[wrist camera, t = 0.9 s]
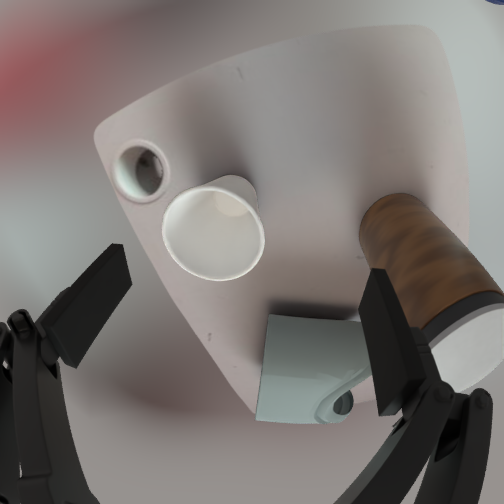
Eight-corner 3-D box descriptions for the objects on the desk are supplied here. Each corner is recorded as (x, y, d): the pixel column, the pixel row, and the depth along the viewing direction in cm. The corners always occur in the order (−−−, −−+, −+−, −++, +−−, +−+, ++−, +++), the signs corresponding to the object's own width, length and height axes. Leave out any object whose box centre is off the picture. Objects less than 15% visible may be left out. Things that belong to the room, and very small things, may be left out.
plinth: (382, 179, 31) (465, 270, 14) (442, 213, 31) (524, 306, 14) (345, 250, 36) (376, 373, 19) (405, 274, 37) (452, 384, 20)
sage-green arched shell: (270, 296, 42) (262, 363, 31) (386, 305, 40) (406, 368, 29) (260, 375, 53) (253, 429, 42) (348, 381, 52) (353, 433, 41)
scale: (465, 270, 14) (480, 291, 12) (524, 306, 14) (535, 323, 12) (376, 373, 19) (380, 395, 17) (452, 384, 20) (457, 401, 18)
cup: (274, 231, 36) (267, 282, 27) (202, 233, 38) (173, 280, 28) (269, 156, 31) (260, 182, 22) (190, 163, 33) (151, 190, 23)
